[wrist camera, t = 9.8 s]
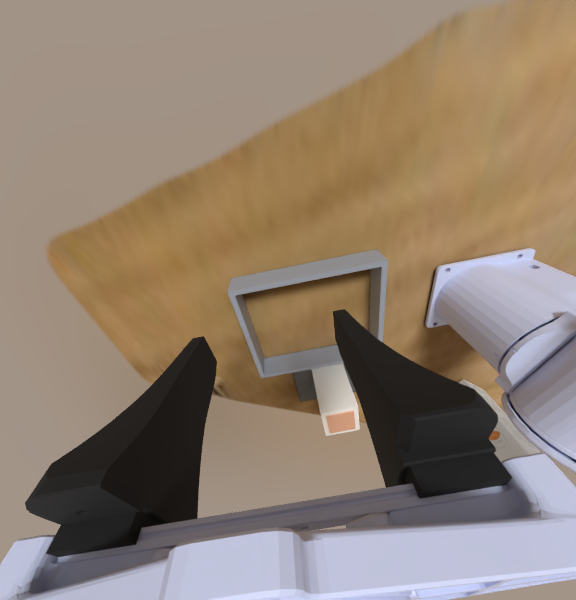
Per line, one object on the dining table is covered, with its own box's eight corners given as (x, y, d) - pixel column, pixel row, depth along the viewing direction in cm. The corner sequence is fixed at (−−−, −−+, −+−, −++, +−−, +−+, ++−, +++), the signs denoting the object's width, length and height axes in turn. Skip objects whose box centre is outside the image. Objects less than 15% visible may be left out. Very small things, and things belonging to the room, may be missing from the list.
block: (342, 361, 29) (358, 407, 24) (345, 385, 32) (360, 431, 27) (311, 368, 29) (320, 414, 24) (316, 391, 32) (326, 437, 27)
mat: (360, 348, 29) (362, 351, 29) (361, 387, 33) (362, 390, 33) (290, 361, 29) (290, 365, 29) (299, 398, 34) (300, 401, 33)
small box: (441, 414, 39) (491, 490, 31) (420, 406, 38) (467, 485, 29) (483, 388, 36) (553, 465, 27) (463, 377, 34) (531, 457, 25)
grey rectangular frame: (376, 249, 22) (388, 260, 20) (373, 340, 28) (381, 356, 26) (231, 278, 22) (227, 292, 20) (261, 361, 29) (261, 378, 27)
